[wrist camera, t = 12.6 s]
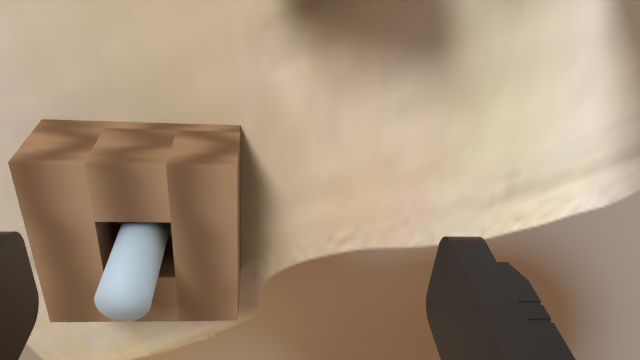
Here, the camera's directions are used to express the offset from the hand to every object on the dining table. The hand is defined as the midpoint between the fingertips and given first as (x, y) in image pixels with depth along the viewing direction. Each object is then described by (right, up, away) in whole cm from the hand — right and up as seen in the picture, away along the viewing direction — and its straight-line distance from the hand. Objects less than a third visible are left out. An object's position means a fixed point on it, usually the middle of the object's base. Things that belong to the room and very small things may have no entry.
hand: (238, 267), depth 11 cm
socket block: (-12, 0, +32) cm, 34 cm away
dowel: (-12, -1, +31) cm, 33 cm away
